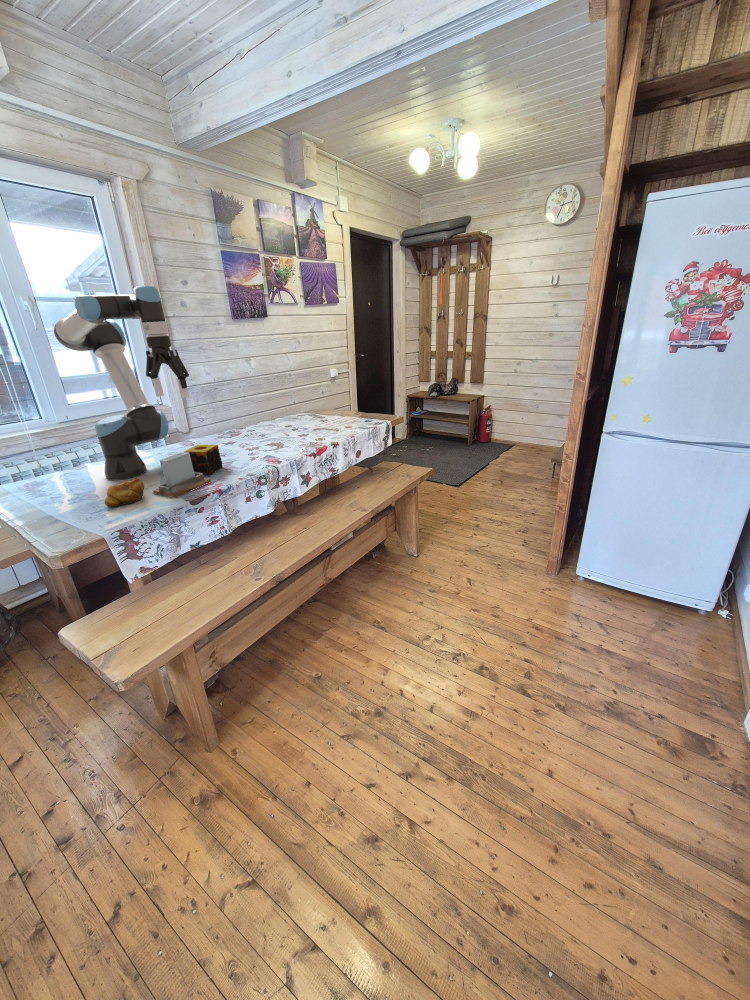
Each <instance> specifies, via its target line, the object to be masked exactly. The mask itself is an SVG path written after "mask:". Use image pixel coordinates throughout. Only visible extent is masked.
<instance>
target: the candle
mask: <svg viewBox="0 0 750 1000" xmlns="http://www.w3.org/2000/svg"><path fill="white" fill-rule="evenodd" d="M183 452H187V453H189V454H190V458H191V462H192V466H193V470H194V472H198V473H203V476H211V475H213V474H215V473H216V472H218V471H219V470H220V469H222V468H223V467H224V466H223V461H222V460H223V459H222V458H221V453H220V448H219V445H218V444H196V445H194V446H192V447H190V448H187V449H186V450H184V451H183Z"/></svg>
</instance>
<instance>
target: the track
mask: <svg viewBox="0 0 750 1000" xmlns="http://www.w3.org/2000/svg"><path fill="white" fill-rule="evenodd" d="M194 474H195V477H192V478H190V479H188V480H185V481H183V482H181V483H179V484H176V485H174V486H172V487H167V485H166V482H163V483H160V484H159V485H157V489H153V490H152V493H153V495H159V496H162V497H163V496H164V497H170V498H175V499H179V497H182V496H184V495H186V494H188V492H189V493H191V492H192V491H191V490H193V489H195V490H196V488H197V489H199V488H201V487H203V486H202V485H204V484H206V483H208V484H210V483H212V480H211V478H208V477H207V478H206V477H204V475H203V473H198V472H194ZM209 482H210V483H209ZM206 485H207V484H206ZM200 486H201V487H200ZM204 486H205V485H204ZM198 487H199V488H198ZM190 491H191V492H190ZM193 491H194V490H193Z"/></svg>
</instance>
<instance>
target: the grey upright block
mask: <svg viewBox="0 0 750 1000" xmlns="http://www.w3.org/2000/svg"><path fill="white" fill-rule="evenodd" d="M159 463H160V466H161V471H162V474H163V477H164V481H165V482H166V485H167V487H172V486H174V485H176V484H179V483H181V482H183V481H185V480H188V479H190V478H192V477H195V474H194V470H193V466H192V462H191V458H190V454H189V453H187V452H184V451H182V452H179V453H176V454H173V455H171V456H167V457H164V458H162V459H159ZM165 482H164V483H165Z"/></svg>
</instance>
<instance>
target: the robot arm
mask: <svg viewBox="0 0 750 1000" xmlns="http://www.w3.org/2000/svg"><path fill="white" fill-rule="evenodd" d="M133 293H134V294H106V295H105V294H101V295H100V294H92V295H91V294H84V295H77V296H75V297H74V307H75V309H74V310H73V311H72V312H71V313H70V314H69V315H68V316H67V317H65V318H61V319H60V320H58V321H57V322H56V323H55V325H54V327H53V334H54V336H55V338H56V339H55V340H57V341H58V342H59V343H60V344H61V345H63V347H64V348H65V347H66V348H67V349H70V350H73V351H77V352H86V351H93V354H94V355H95V357H96V358H98V359H101V361H102V362H103V364H104V367H105V368H106V371H107V372H108V374H109V376H110V379H111V380H112V382H113V385H114V386H115V389H116V391H117V392H118V394H119V395H120V397H121V400H122V401H123V403H124V406H125V408H126V410H127V411H126V414H118V415H117V414H116V415H112V416H109V417H105V418H103V419H100V420H98V421H97V422H96V423H95V424H94V429H95V434H96V437H97V438H98V442H99V445H100V448H101V450H102V454H103V457H104V475H105V478H106V479H107V480H111V481H117V480H118V481H119V480H126V479H131V478H134V477H138V476H140V475H142V474H144V473H146V472H147V470H148V469H147V465H146V463H145V462H144V460H143V459H142V458H141V457H140V455H139V454H138V451H137V449H136V446H139V445H144V444H147V443H151V442H155V441H159V440H162V439H166V437H167V436H168V435H169V422H168V419H167V416H166V415H165V413H164V412H163V410H157V409H156V407H155V405H152V404H150V403H149V401H148V399H147V397H146V395H145V393H144V391H143V390H142V387H141V386H140V384H139V382H138V380H137V378H136V375H135V374H134V372H133V369H132V367H131V366H130V364H129V362H128V360H127V358H126V356H125V354H124V352H125V346H126V345H127V339H126V337H125V332H124V330H123V329H122V327H121V326H120V325H119V324H118V323H117V321H115V320H128V319H129V320H131V319H132V320H138V319H141V323H142V327H143V332H144V335H145V336H146V339H145V340H146V343H147V347H148V350H145V355H146V364H145V366H146V367H145V369H146V370H145V377H146V378H149V379H151V383H152V387H153V389H154V392H155V397H157V398H159V397H163V396H165V394H164V390H163V386H162V383H161V379H160V376H159V375H160V374H159V373H160V370H161V367H162V364H165V365H166V366H168V367H169V369H171V371H172V372H173V374H175V376H176V381H177V385H178V390H179V394H180V398H181V399H185V398H189V397H190V396H189V391H188V384H187V380H186V379H187V378H188V377H190V373H189V371H188V370H187V368H186V367H185V365H184V363H183V361H182V359H181V358H180V356H179V352H178V350H177V349H170V347H171V346H172V342H171V341H172V340H171V338H170V336H169V335H168V334H169V330H168V329H169V328H168V324H167V322H166V317H165V313H164V312H165V311H164V308H163V303H162V298H161V296H160V291H159V290H158V288H157V287H156V286H153V285H142V286H140V285H139V286H134V288H133ZM149 349H150V350H149Z"/></svg>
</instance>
